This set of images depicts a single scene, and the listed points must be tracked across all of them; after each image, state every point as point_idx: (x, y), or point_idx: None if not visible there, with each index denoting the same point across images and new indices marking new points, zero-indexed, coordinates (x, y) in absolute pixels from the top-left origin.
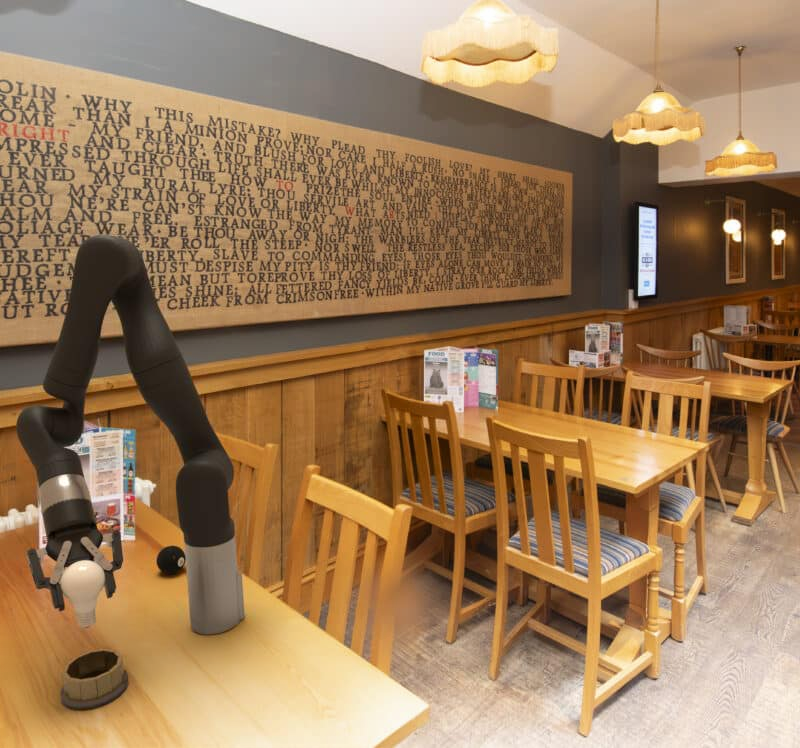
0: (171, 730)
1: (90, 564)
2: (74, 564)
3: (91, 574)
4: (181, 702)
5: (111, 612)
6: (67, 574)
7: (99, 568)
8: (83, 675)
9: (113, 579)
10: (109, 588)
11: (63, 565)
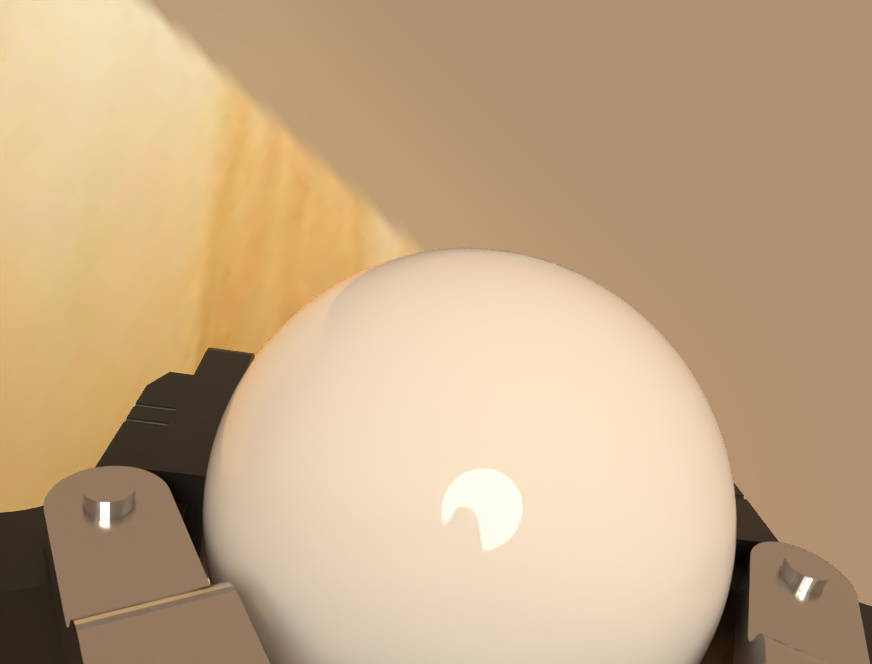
0: (230, 143)
1: (420, 345)
2: (642, 478)
3: (437, 252)
4: (125, 241)
5: None
6: (710, 409)
7: (293, 343)
8: None
9: (133, 427)
10: (227, 366)
11: (772, 658)
